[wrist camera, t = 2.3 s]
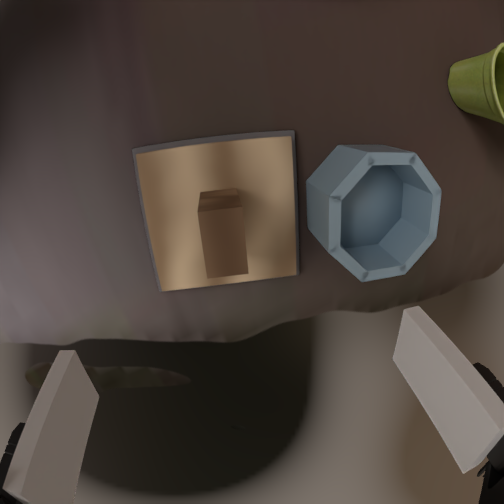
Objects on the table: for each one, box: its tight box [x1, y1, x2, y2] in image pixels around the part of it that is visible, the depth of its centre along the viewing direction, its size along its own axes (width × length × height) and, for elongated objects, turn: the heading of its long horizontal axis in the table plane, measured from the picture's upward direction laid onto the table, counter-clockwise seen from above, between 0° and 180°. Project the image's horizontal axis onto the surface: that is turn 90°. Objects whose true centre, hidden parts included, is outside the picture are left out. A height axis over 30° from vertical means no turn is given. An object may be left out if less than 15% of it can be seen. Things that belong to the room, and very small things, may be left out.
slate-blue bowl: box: [306, 145, 441, 282], centre depth 27 cm, size 11×11×6 cm
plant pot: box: [448, 42, 504, 125], centre depth 21 cm, size 9×9×9 cm
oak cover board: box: [136, 136, 296, 291], centre depth 25 cm, size 13×13×7 cm
